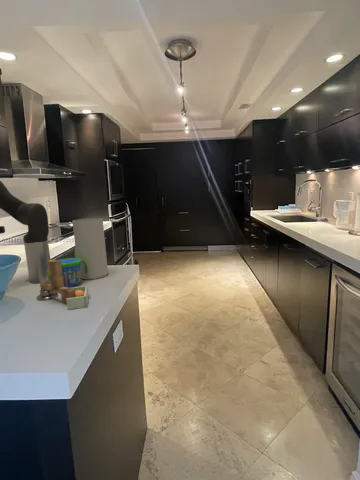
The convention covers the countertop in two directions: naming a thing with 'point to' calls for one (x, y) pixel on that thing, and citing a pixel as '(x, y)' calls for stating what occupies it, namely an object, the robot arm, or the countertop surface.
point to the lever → (57, 281)
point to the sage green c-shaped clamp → (78, 299)
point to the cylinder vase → (90, 247)
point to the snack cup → (71, 271)
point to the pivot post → (46, 295)
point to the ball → (79, 293)
